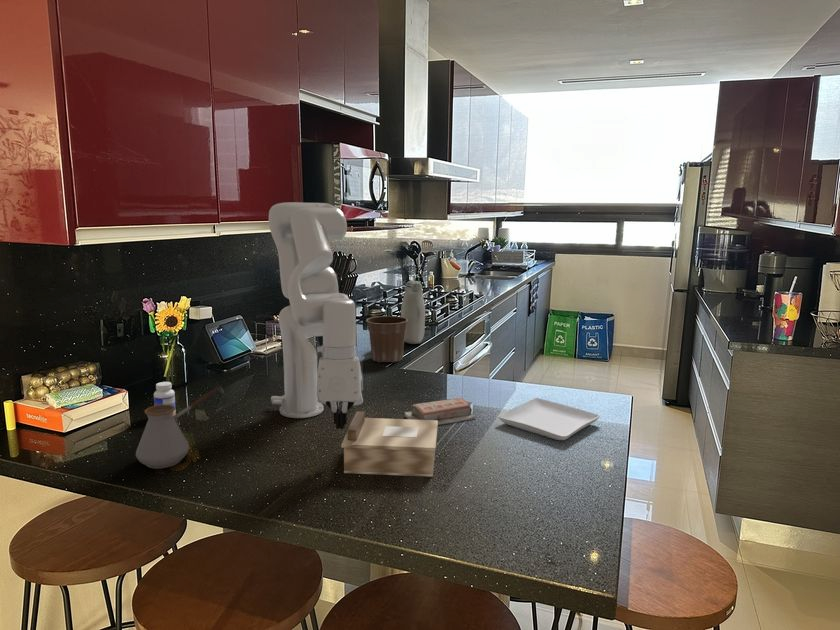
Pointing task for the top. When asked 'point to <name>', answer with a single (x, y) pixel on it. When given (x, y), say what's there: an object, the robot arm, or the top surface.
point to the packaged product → (442, 411)
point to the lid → (391, 434)
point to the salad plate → (548, 418)
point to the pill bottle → (164, 395)
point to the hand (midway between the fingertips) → (340, 426)
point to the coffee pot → (164, 436)
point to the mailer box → (388, 462)
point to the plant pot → (387, 337)
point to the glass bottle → (413, 312)
